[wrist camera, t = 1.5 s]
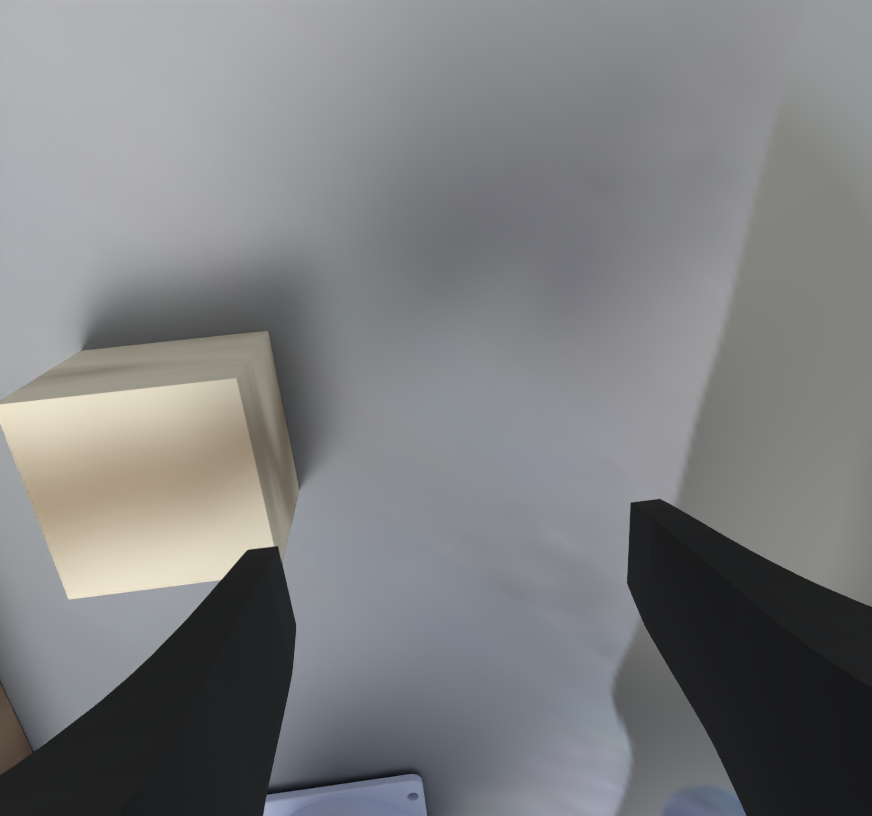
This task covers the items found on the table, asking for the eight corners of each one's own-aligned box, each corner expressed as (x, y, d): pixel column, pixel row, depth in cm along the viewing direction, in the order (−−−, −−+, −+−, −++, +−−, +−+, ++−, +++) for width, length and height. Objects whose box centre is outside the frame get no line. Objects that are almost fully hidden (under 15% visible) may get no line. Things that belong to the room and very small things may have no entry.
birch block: (300, 488, 22) (279, 572, 18) (133, 508, 22) (68, 599, 17) (268, 329, 20) (236, 378, 15) (83, 349, 20) (-8, 405, 15)
